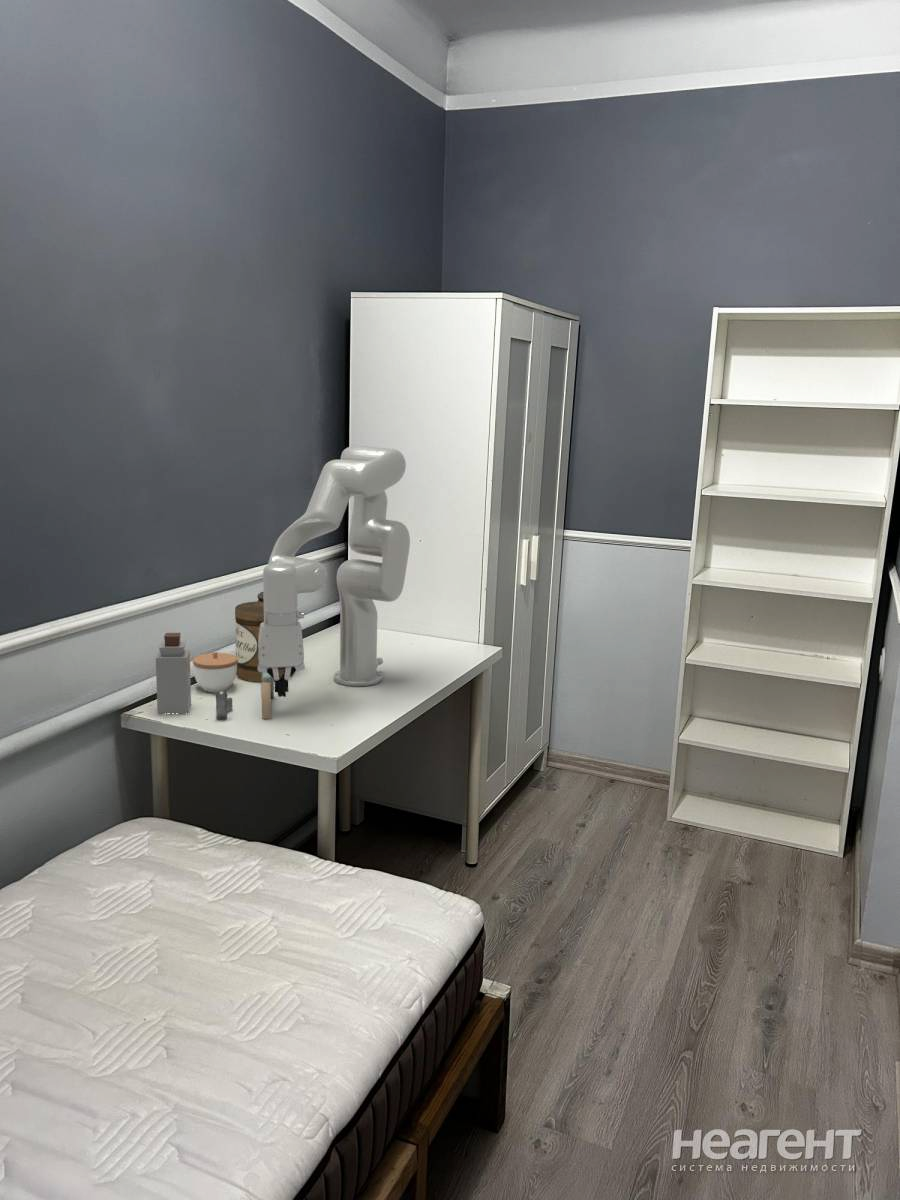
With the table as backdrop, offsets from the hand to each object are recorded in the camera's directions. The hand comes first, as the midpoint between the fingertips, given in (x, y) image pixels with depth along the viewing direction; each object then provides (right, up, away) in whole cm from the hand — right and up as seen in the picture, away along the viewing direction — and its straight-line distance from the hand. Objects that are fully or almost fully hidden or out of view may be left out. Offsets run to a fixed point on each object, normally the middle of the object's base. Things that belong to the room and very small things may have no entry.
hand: (281, 694), depth 216 cm
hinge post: (-5, -2, +11) cm, 13 cm away
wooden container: (-10, +2, +30) cm, 31 cm away
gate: (-4, -4, +3) cm, 6 cm away
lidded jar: (-19, 0, +17) cm, 26 cm away
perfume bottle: (-25, -4, +1) cm, 25 cm away
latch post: (-12, -5, -2) cm, 13 cm away
